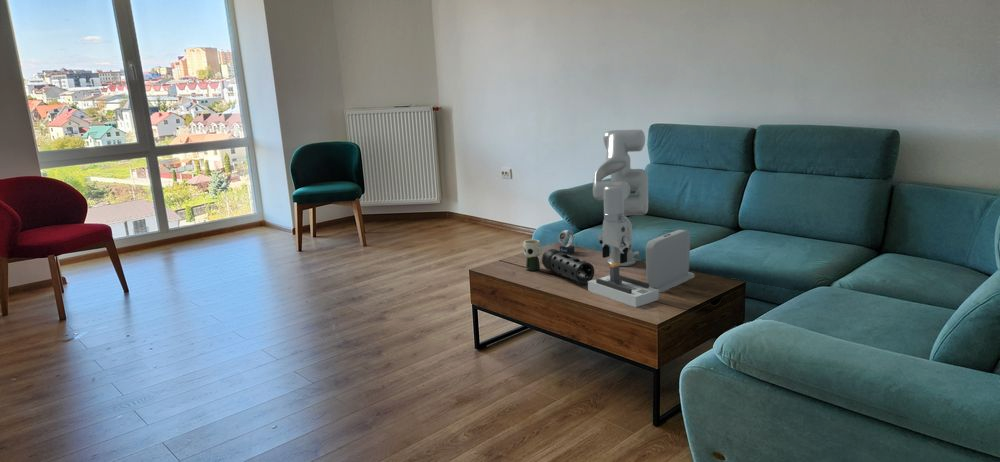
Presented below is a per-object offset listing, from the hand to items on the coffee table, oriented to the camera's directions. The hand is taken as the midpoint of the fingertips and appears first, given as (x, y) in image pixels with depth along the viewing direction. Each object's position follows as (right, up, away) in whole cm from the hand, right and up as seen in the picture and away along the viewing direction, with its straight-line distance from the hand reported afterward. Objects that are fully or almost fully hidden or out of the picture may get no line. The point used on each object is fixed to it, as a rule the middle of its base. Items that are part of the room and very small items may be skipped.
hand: (614, 259), depth 257 cm
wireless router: (+24, -10, +12) cm, 29 cm away
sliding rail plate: (+3, -10, -2) cm, 10 cm away
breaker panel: (+3, -14, -1) cm, 14 cm away
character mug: (-30, -6, +39) cm, 50 cm away
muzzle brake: (-16, -9, +25) cm, 31 cm away
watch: (-12, 0, +64) cm, 65 cm away
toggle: (0, -9, +1) cm, 9 cm away
